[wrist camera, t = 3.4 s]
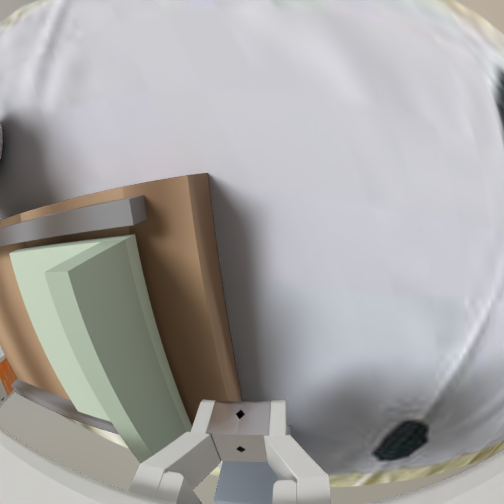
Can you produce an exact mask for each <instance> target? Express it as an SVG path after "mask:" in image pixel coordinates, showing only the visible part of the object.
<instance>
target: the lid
mask: <svg viewBox="0 0 504 504" xmlns="http://www.w3.org/2000/svg"><path fill="white" fill-rule="evenodd" d="M9 255H10V259H11V262H12V266H13V270H14V273H15V277H16V280H17V283H18V286H19V289H20V292H21V295H22V298H23V301H24V304H25V307H26V309H27V312H28V315H29V317H30V320H31V322H32V325H33V327H34V329H35V332H36V334H37V336H38V339H39V341H40V343H41V345H42V347H43V350H44V352H45V354H46V356H47V358H48V360H49V362H50V364H51V366H52V368H53V370H54V371H55V373H56V375H57V377H58V379H59V381H60V382H61V384H62V386H63V388H64V389H65V391H66V393H67V394H68V396H69V398H70V399H71V401H72V403H73V404H74V406H75V407H76V409H77V410H78V411H79V412H81V413H84V414H87V415H90V416H94V417H97V418H100V419H103V420H107V421H110V422H112V424H113V425H114V427H115V428H116V430H117V431H118V433H119V434H120V436H121V437H122V439H123V440H124V442H125V443H126V444H127V446H128V447H129V449H130V450H131V451H132V453H133V454H134V455H135V457H136V458H137V459H138V461H139V462H140V463H142V462H144V461H146V460H147V459H149V458H150V457H152V456H153V455H155V454H156V453H158V452H159V451H160V450H162V449H163V448H165V447H166V446H168V445H169V444H170V443H172V442H173V441H175V440H176V439H177V438H179V437H180V436H182V435H183V434H184V433H186V432H191V429H192V425H191V423H190V420H189V418H188V415H187V413H186V410H185V408H184V405H183V403H182V400H181V397H180V395H179V392H178V389H177V387H176V384H175V381H174V378H173V375H172V373H171V370H170V367H169V364H168V361H167V358H166V355H165V352H164V348H163V345H162V342H161V339H160V335H159V332H158V329H157V325H156V322H155V318H154V315H153V311H152V307H151V303H150V300H149V296H148V292H147V288H146V283H145V279H144V275H143V271H142V266H141V262H140V257H139V252H138V247H137V242H136V237H135V234H132V235H123V236H114V237H106V238H97V239H89V240H81V241H73V242H66V243H58V244H51V245H44V246H37V247H30V248H23V249H18V250H15V251H13V252H11V253H9Z"/></svg>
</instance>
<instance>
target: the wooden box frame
mask: <svg viewBox="0 0 504 504" xmlns="http://www.w3.org/2000/svg"><path fill="white" fill-rule="evenodd" d="M132 234H135V237H136V242H137V247H138V252H139V257H140V262H141V266H142V271H143V275H144V279H145V283H146V288H147V292H148V296H149V300H150V303H151V307H152V311H153V315H154V318H155V322H156V325H157V329H158V332H159V335H160V339H161V342H162V345H163V348H164V352H165V355H166V358H167V361H168V364H169V367H170V370H171V373H172V375H173V378H174V381H175V384H176V387H177V389H178V392H179V395H180V397H181V400H182V403H183V405H184V408H185V410H186V413H187V415H188V418H189V420H190V423H191V425H192V426H193V423H194V420H195V417H196V414H197V411H198V408H199V405H200V403H201V401H202V400H220V401H242V397H241V391H240V386H239V380H238V375H237V369H236V364H235V358H234V352H233V347H232V341H231V335H230V329H229V323H228V317H227V310H226V304H225V298H224V291H223V285H222V278H221V271H220V264H219V257H218V250H217V243H216V235H215V228H214V220H213V212H212V204H211V196H210V188H209V179H208V173H203V174H194V175H186V176H180V177H174V178H168V179H162V180H156V181H150V182H145V183H140V184H134V185H129V186H124V187H120V188H115V189H110V190H106V191H101V192H97V193H93V194H88V195H84V196H80V197H76V198H72V199H68V200H65V201H61V202H57V203H54V204H50V205H46V206H43V207H40V208H36V209H33V210H29V211H26V212H23V213H20V214H17V215H14V216H11V217H8V218H5V219H2V220H0V346H1V348H2V350H3V352H4V354H5V356H6V358H7V360H8V362H9V364H10V366H11V367H12V369H13V371H14V373H15V375H16V376H17V378H18V379H17V380H16V381H15V382H14V383H13V384H12V385H11V386H12V387H13V389H14V390H15V392H16V393H17V394H19V395H21V396H23V397H25V398H27V399H29V400H31V401H33V402H35V403H37V404H39V405H41V406H43V407H46V408H48V409H50V410H52V411H54V412H57V413H59V414H62V415H64V416H66V417H69V418H71V419H74V420H77V421H79V422H82V423H85V424H88V425H90V426H93V427H96V428H99V429H102V430H106V431H109V432H112V433H116V434H119V433H118V431H117V430H116V428H115V427H114V425H113V424H112V422H110V421H107V420H103V419H100V418H97V417H94V416H90V415H87V414H84V413H81V412H79V411H78V410H77V409H76V407H75V406H74V404H73V403H72V401H71V399H70V398H69V396H68V394H67V393H66V391H65V389H64V388H63V386H62V384H61V382H60V381H59V379H58V377H57V375H56V373H55V371H54V370H53V368H52V366H51V364H50V362H49V360H48V358H47V356H46V354H45V352H44V350H43V347H42V345H41V343H40V341H39V339H38V336H37V334H36V332H35V329H34V327H33V325H32V322H31V320H30V317H29V315H28V312H27V309H26V307H25V304H24V301H23V298H22V295H21V292H20V289H19V286H18V283H17V280H16V277H15V273H14V270H13V266H12V262H11V259H10V255H9V253H11V252H13V251H15V250H18V249H23V248H30V247H37V246H44V245H51V244H58V243H66V242H73V241H81V240H89V239H97V238H106V237H114V236H123V235H132ZM119 435H120V434H119Z"/></svg>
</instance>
